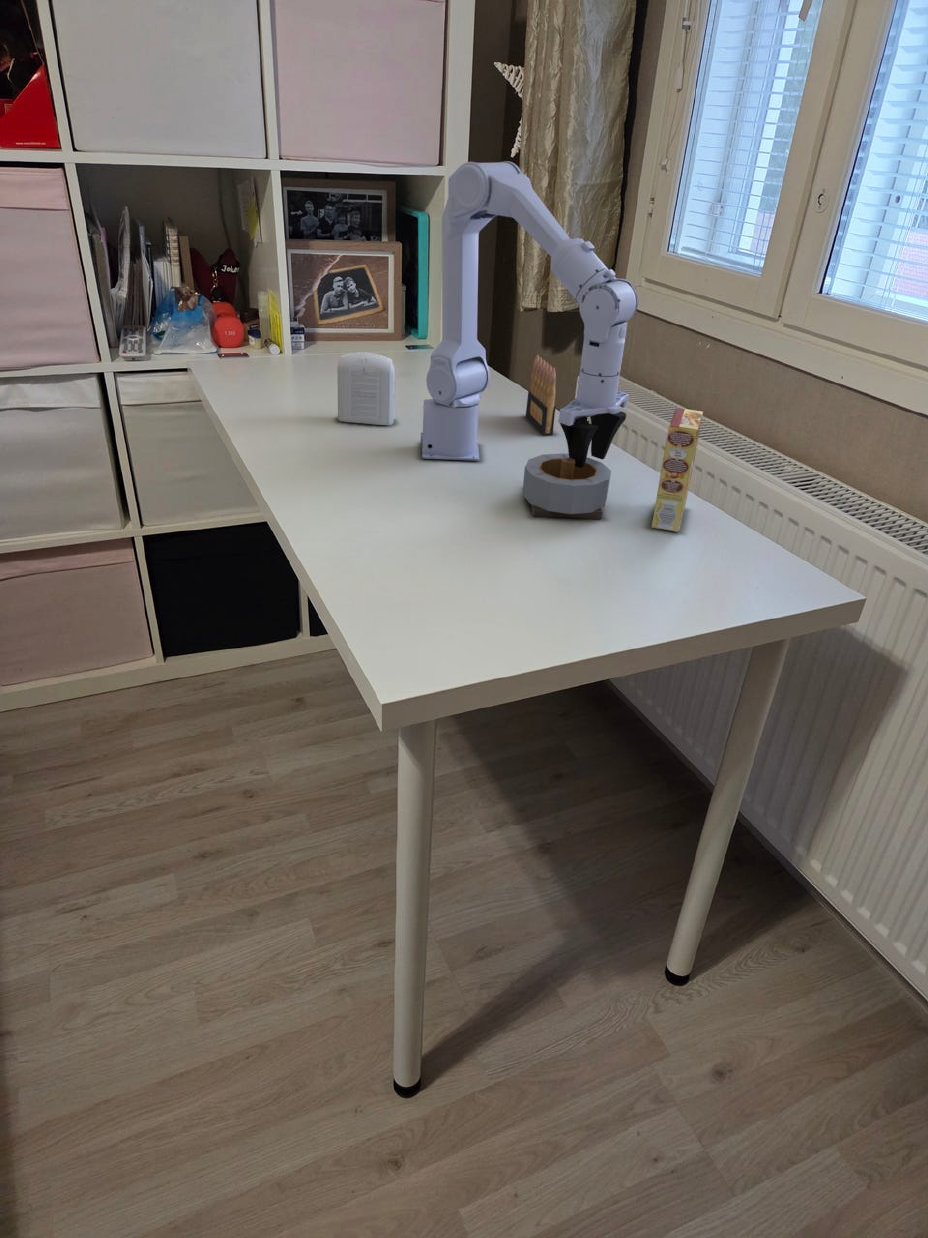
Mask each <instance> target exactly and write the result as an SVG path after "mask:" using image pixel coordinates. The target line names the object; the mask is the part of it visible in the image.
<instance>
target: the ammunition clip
mask: <svg viewBox="0 0 928 1238" xmlns="http://www.w3.org/2000/svg"><path fill="white" fill-rule="evenodd" d="M556 378H557V377H556V367H552V364H549V362H548V361H546V359H543V358H542V356H540V355H539V354H538V353H537V354H536V355H535V358H534V361H533V367H532V374H531V376H530V386H529V390H528V392H527V399H526V409H525V418H526V420H528V421H529V422H530V423H531V424H532V425H533V426H534V427H535V428H536V429H537V431H538V432H539V433H540V434H541V435H543V436H553V434H554V426H555V415H556V406H555V400H556Z"/></svg>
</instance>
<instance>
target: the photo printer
mask: <svg viewBox="0 0 928 1238" xmlns="http://www.w3.org/2000/svg"><path fill="white" fill-rule="evenodd" d="M338 359H339V360H338V363H337V367H336V368H337V369H336V371H337V373H336V374H337V420H338V421H339V422H345V423H354V424H355V423H357V424H367V425H368V424H369V425H377V426H392V425H393V424H394V421H395V418H394V417H395V381H396V380H395V378H396V377H395V375H396V372H395V366H394V360H393V359H392V358H390V357H388V356H385V355H383V354H378V353H374V352H365V351H357V352H349V353H346V354H341V355H340V356H339V358H338Z"/></svg>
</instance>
